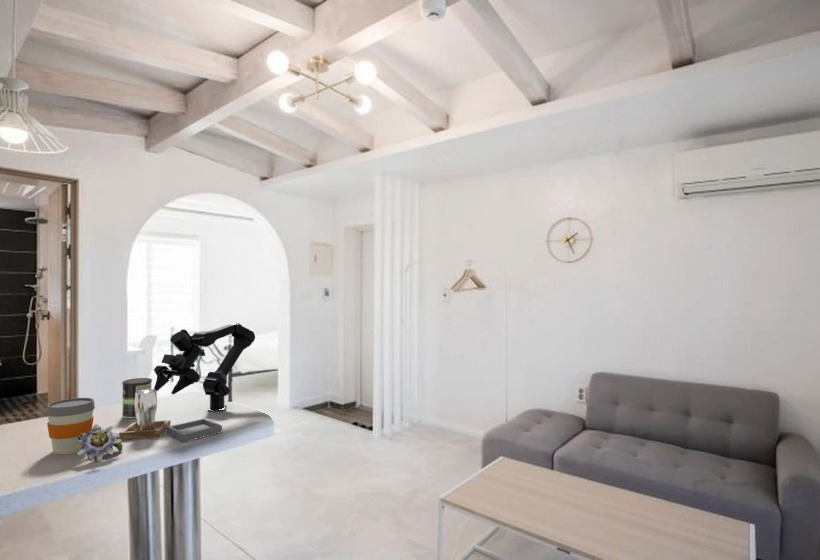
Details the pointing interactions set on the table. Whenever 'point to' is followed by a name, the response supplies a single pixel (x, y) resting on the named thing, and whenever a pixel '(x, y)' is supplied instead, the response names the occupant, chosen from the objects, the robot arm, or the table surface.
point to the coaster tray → (193, 429)
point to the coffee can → (133, 394)
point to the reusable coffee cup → (69, 423)
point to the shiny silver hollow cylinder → (145, 409)
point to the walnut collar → (131, 434)
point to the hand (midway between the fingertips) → (163, 392)
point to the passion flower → (98, 442)
